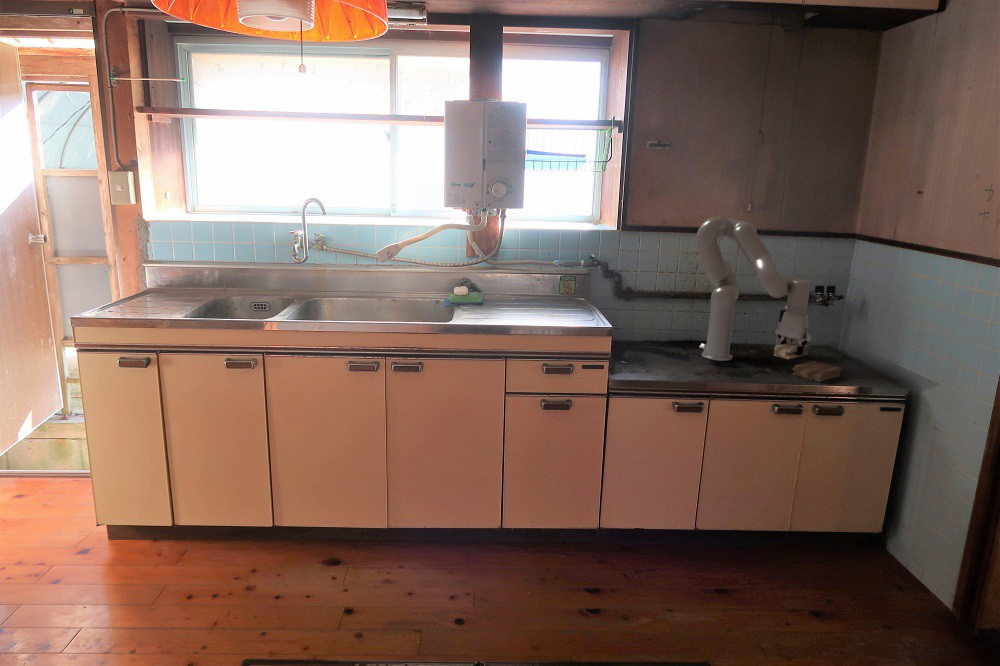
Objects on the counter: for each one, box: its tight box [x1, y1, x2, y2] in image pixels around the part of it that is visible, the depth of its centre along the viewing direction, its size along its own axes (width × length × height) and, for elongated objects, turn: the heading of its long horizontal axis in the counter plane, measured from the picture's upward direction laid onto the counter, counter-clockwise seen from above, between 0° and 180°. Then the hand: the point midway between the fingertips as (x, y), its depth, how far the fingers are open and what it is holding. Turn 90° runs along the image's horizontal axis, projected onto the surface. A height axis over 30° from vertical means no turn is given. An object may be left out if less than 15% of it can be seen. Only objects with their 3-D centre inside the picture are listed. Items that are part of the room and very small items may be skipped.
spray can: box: [775, 309, 794, 346], centre depth 285 cm, size 7×7×20 cm
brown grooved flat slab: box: [791, 360, 842, 382], centre depth 258 cm, size 12×14×4 cm
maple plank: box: [773, 341, 810, 360], centre depth 266 cm, size 6×14×4 cm, turn 125°
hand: (791, 352), depth 266 cm, fingers closed on maple plank, 6 cm apart
